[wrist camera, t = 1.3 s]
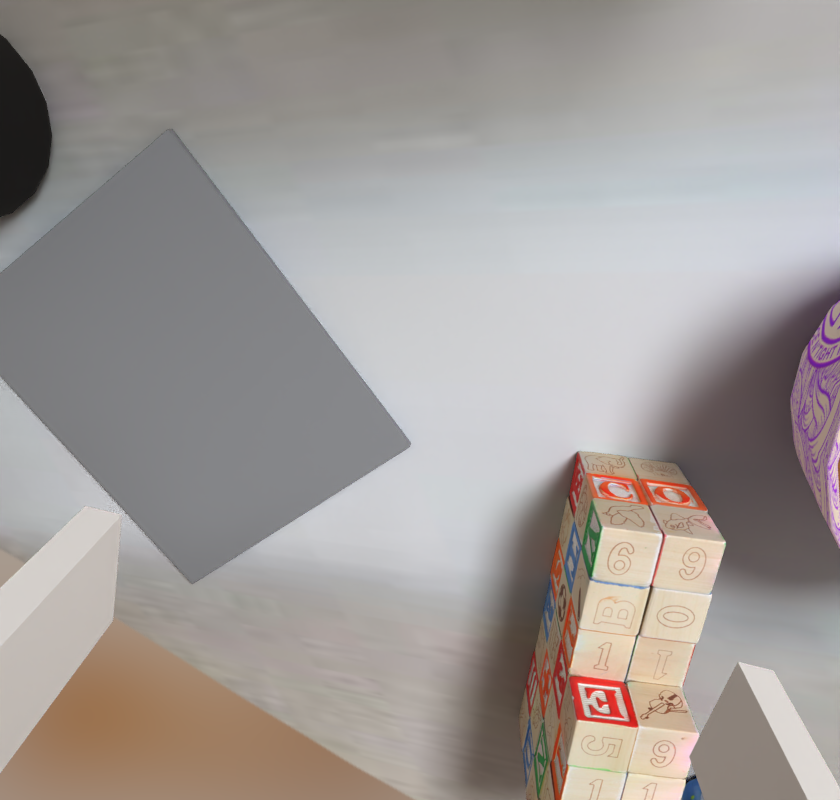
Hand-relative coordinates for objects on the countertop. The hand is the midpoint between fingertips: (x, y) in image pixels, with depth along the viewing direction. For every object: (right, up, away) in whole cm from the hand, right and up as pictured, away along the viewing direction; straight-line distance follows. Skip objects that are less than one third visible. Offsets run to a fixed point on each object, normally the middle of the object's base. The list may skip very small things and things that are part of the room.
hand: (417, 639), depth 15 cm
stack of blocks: (+11, -8, +31) cm, 34 cm away
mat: (-14, +6, +27) cm, 31 cm away
